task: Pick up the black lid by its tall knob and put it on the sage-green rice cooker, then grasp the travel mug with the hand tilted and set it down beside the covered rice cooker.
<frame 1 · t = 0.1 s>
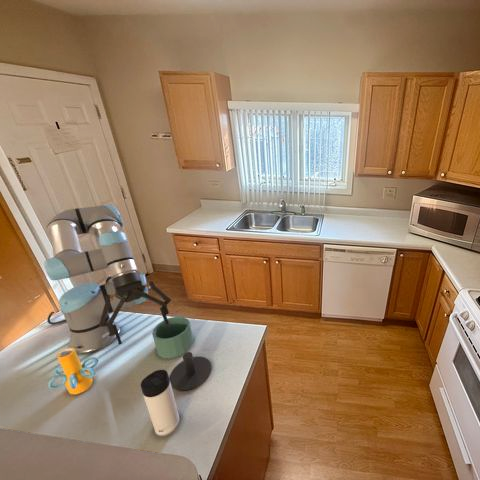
hand: (145, 333, 86), 15 cm above the counter, tool tilted 35°, fingers open, 13 cm apart
travel mug: (168, 426, 74), on the counter
lid: (191, 373, 89), point 1 cm above the counter
orange toy with loops: (81, 386, 84), on the counter
cooker: (175, 346, 101), on the counter
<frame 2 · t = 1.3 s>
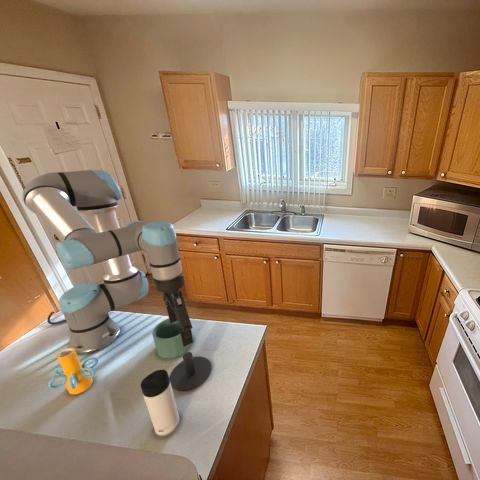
hand: (181, 331, 82), 20 cm above the counter, tool pointing down, fingers open, 13 cm apart
nothing on the counter moved.
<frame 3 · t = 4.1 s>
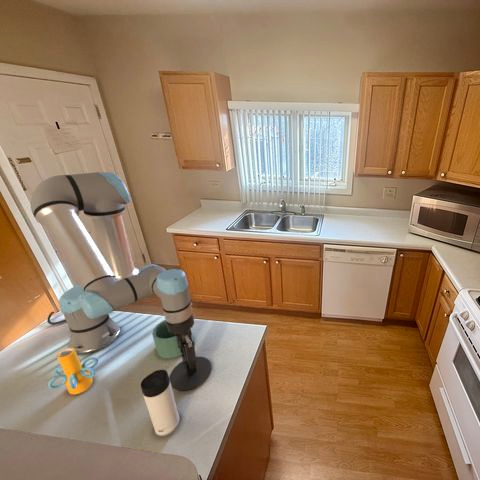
hand: (190, 369, 89), 2 cm above the counter, tool pointing down, fingers closed on lid, 3 cm apart
lid: (191, 373, 89), point 1 cm above the counter, touching gripper
everything else where it was.
when the fingers open (11 cm above the counter, at t = 11.2 s): lid stays where it is, resting on cooker.
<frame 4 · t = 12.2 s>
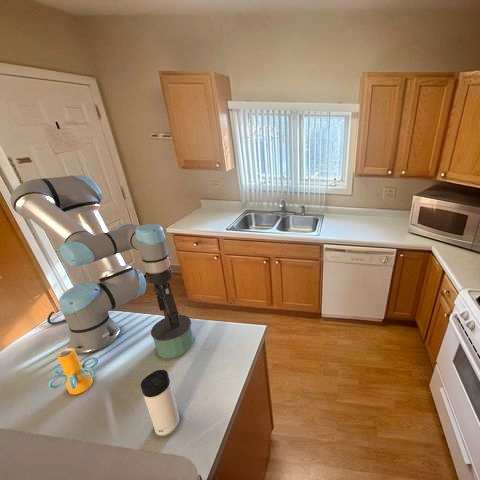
hand: (169, 318, 95), 14 cm above the counter, tool pointing down, fingers open, 13 cm apart
lid: (171, 327, 97), point 9 cm above the counter, touching cooker
everything else where it was.
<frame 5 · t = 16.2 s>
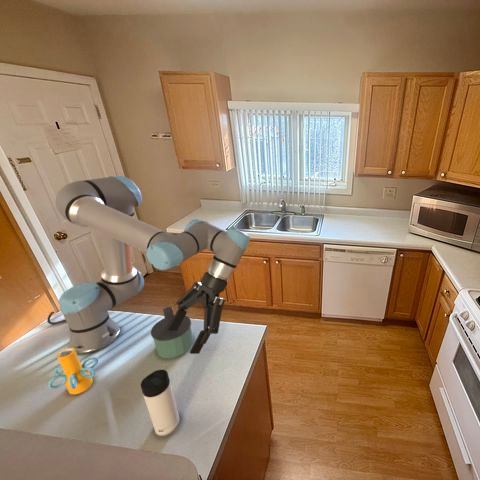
hand: (182, 341, 75), 22 cm above the counter, tool tilted 40°, fingers open, 13 cm apart
nothing on the counter moved.
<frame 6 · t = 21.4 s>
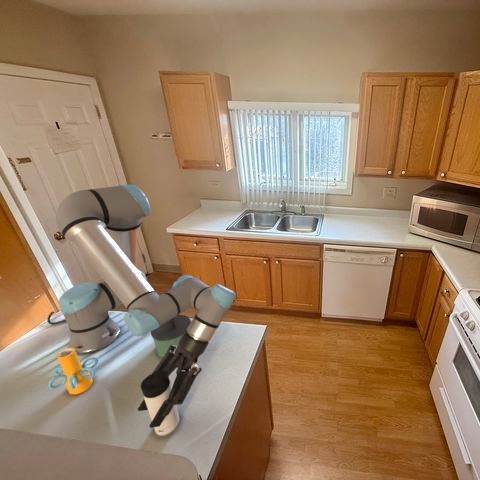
hand: (148, 417, 68), 8 cm above the counter, tool tilted 45°, fingers closed on travel mug, 6 cm apart
travel mug: (168, 426, 74), on the counter, touching gripper
everything else where it was.
when the fingers open (8 cm above the counter, at t = 30.7 s): travel mug stays where it is, on the counter.
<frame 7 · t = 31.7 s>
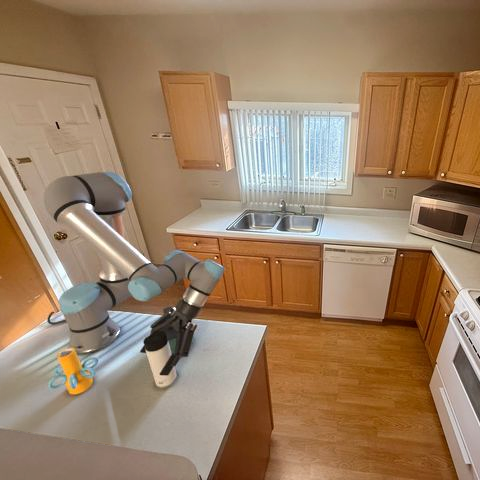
hand: (153, 363, 81), 10 cm above the counter, tool tilted 45°, fingers open, 13 cm apart
travel mug: (167, 381, 87), on the counter
everything else where it was.
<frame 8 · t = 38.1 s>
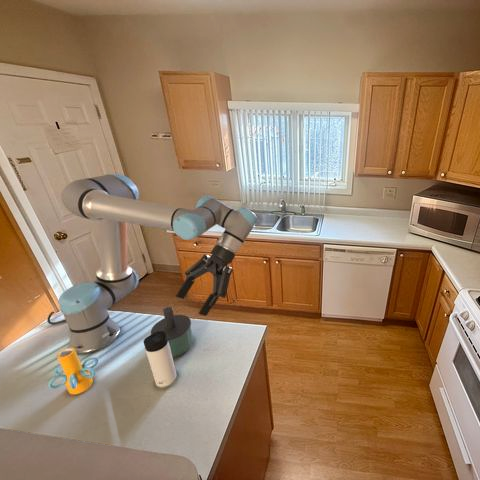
hand: (190, 305, 81), 28 cm above the counter, tool tilted 45°, fingers open, 13 cm apart
nothing on the counter moved.
at the end: lid 0.1 cm off-centre on the cooker, point 9.5 cm above the cooker's base; travel mug inside the target area on the counter beside the cooker (0.4 cm from its centre), on the counter; travel mug tilted 0° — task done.
